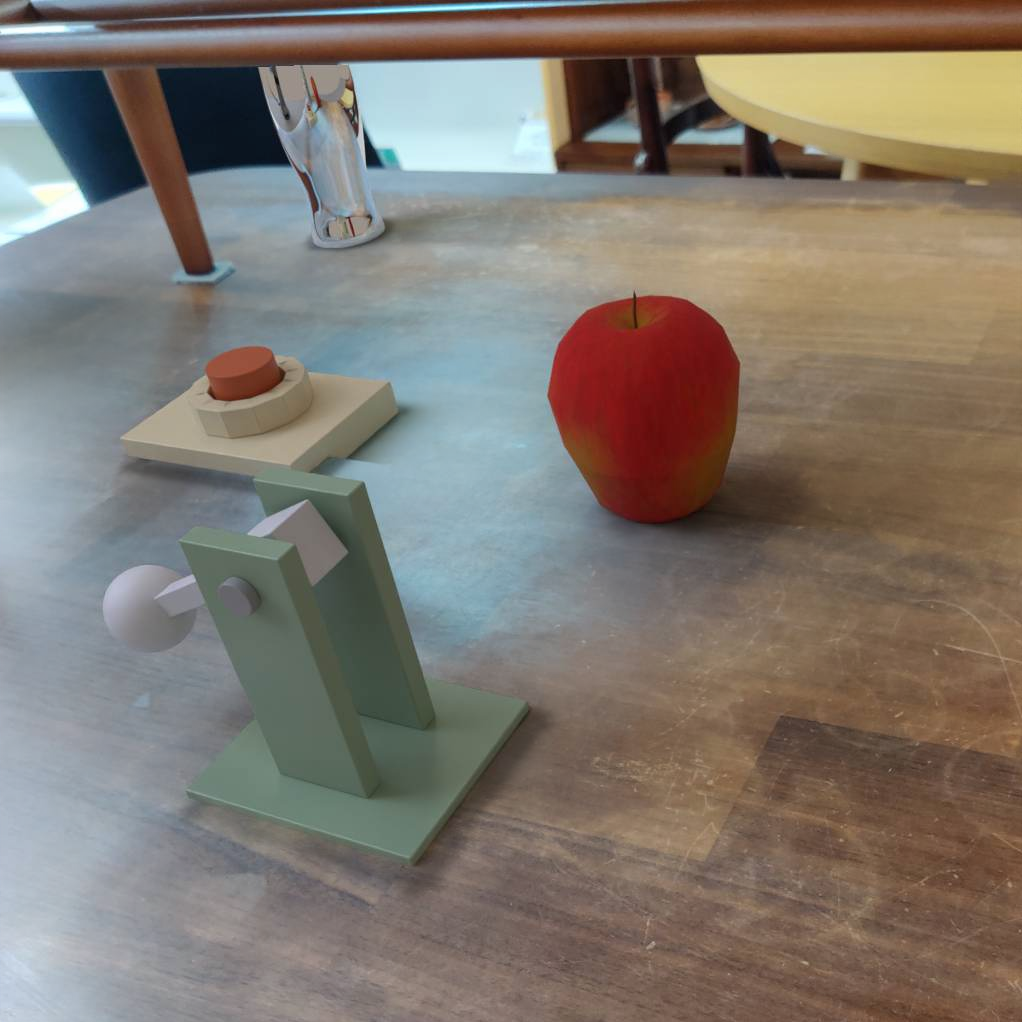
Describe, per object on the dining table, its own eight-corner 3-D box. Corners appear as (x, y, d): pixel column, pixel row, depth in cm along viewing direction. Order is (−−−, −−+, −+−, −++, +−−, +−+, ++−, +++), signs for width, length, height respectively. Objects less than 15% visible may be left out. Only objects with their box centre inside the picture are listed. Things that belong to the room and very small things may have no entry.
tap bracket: (195, 813, 49) (64, 558, 41) (326, 674, 55) (234, 428, 47) (419, 883, 45) (322, 613, 37) (534, 724, 51) (472, 463, 43)
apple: (749, 459, 65) (734, 243, 58) (750, 554, 58) (733, 323, 51) (581, 470, 66) (544, 260, 59) (562, 566, 60) (518, 341, 52)
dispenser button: (201, 400, 71) (190, 373, 70) (244, 369, 74) (234, 343, 73) (253, 407, 69) (243, 380, 68) (295, 375, 72) (286, 348, 71)
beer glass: (362, 214, 105) (312, 26, 95) (406, 229, 100) (358, 34, 91) (293, 241, 101) (234, 49, 92) (335, 257, 97) (278, 58, 88)
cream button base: (132, 469, 73) (106, 410, 70) (238, 392, 80) (217, 335, 77) (301, 498, 68) (280, 436, 65) (399, 412, 75) (383, 353, 72)
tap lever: (128, 677, 50) (68, 609, 49) (186, 625, 52) (130, 559, 51) (311, 613, 42) (245, 529, 40) (370, 554, 44) (310, 473, 43)
